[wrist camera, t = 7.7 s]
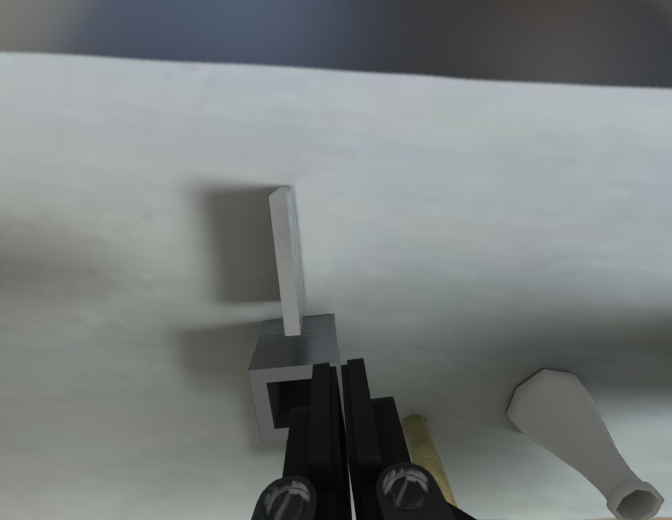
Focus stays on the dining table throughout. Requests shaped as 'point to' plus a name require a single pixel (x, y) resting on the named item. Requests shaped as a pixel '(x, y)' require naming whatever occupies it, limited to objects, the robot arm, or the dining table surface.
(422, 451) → the hinge pin
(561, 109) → the dining table surface
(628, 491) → the flask
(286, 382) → the hinge base
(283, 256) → the loose leaf
